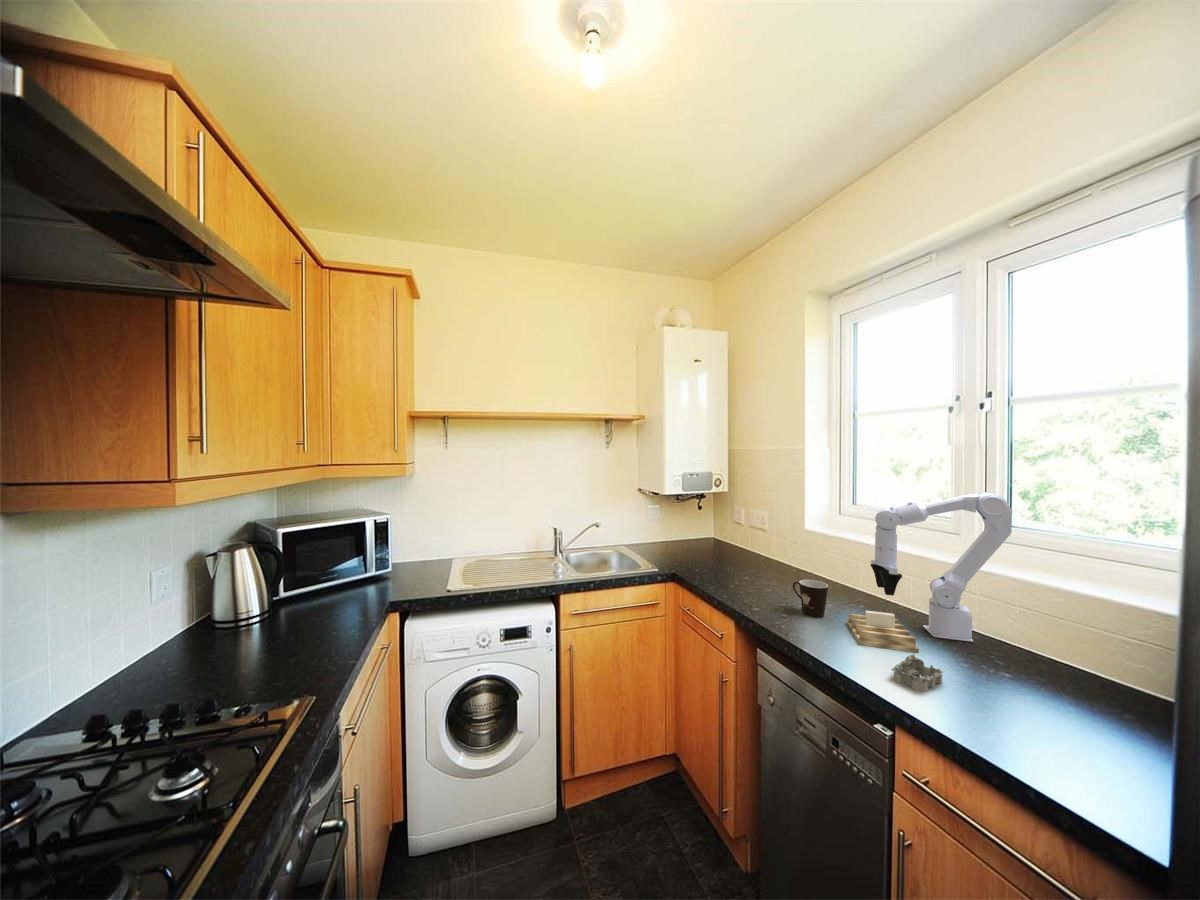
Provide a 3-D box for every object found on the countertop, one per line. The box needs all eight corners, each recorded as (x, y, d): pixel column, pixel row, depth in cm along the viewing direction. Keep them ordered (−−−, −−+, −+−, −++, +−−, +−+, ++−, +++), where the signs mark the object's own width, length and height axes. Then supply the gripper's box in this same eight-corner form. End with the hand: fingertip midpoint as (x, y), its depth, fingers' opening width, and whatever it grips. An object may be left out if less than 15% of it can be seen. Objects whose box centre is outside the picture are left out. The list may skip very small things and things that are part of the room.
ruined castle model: (913, 669, 105) (913, 652, 105) (948, 684, 98) (948, 667, 98) (887, 678, 100) (887, 661, 100) (922, 695, 94) (922, 677, 94)
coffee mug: (833, 619, 135) (833, 588, 135) (806, 619, 135) (806, 587, 135) (815, 606, 146) (815, 577, 146) (790, 605, 146) (790, 576, 146)
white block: (892, 634, 122) (893, 613, 122) (894, 636, 120) (895, 615, 120) (865, 630, 124) (865, 610, 124) (866, 633, 123) (867, 612, 123)
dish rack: (898, 630, 127) (898, 618, 127) (918, 652, 113) (919, 639, 113) (846, 623, 132) (846, 612, 132) (859, 644, 117) (859, 632, 117)
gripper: (864, 542, 141) (864, 582, 141) (878, 552, 127) (877, 596, 127) (889, 543, 139) (888, 585, 139) (905, 554, 125) (905, 599, 125)
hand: (885, 590), depth 133 cm, fingers open, 7 cm apart
